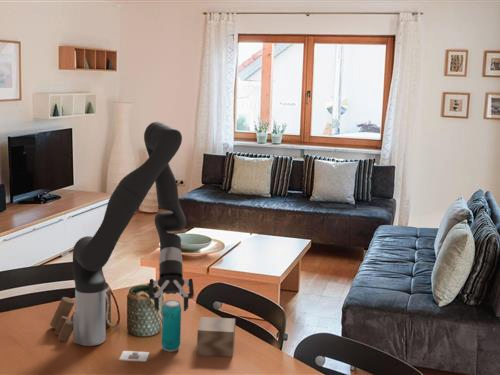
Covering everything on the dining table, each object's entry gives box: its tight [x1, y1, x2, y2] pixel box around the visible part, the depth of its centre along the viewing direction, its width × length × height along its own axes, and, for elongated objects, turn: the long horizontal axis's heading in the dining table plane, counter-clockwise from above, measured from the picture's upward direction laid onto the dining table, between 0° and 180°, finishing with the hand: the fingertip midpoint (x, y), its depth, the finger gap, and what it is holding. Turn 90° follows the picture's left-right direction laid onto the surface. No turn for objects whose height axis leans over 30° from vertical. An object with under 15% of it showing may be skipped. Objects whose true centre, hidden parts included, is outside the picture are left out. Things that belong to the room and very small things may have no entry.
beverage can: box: [161, 299, 182, 353], centre depth 206 cm, size 6×6×15 cm
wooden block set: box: [49, 296, 75, 343], centre depth 216 cm, size 18×9×10 cm, turn 7°
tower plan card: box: [118, 350, 150, 363], centre depth 201 cm, size 8×6×1 cm
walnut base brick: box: [196, 316, 236, 358], centre depth 208 cm, size 11×11×8 cm
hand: (171, 310), depth 209 cm, fingers open, 8 cm apart
